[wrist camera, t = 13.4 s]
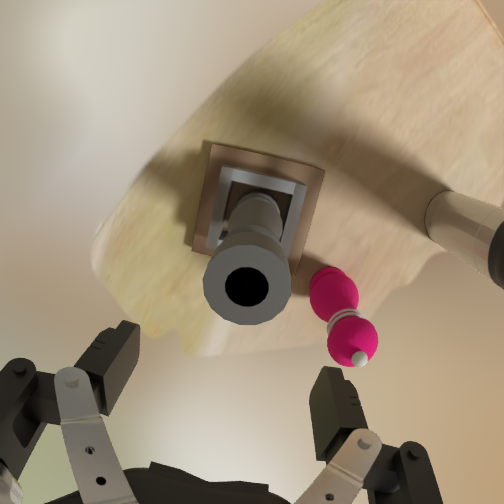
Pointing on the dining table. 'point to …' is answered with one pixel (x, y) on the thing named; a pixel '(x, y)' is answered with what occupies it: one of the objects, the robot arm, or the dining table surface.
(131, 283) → the dining table surface
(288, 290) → the candle holder
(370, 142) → the dining table surface
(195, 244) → the socket board
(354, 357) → the pepper mill
